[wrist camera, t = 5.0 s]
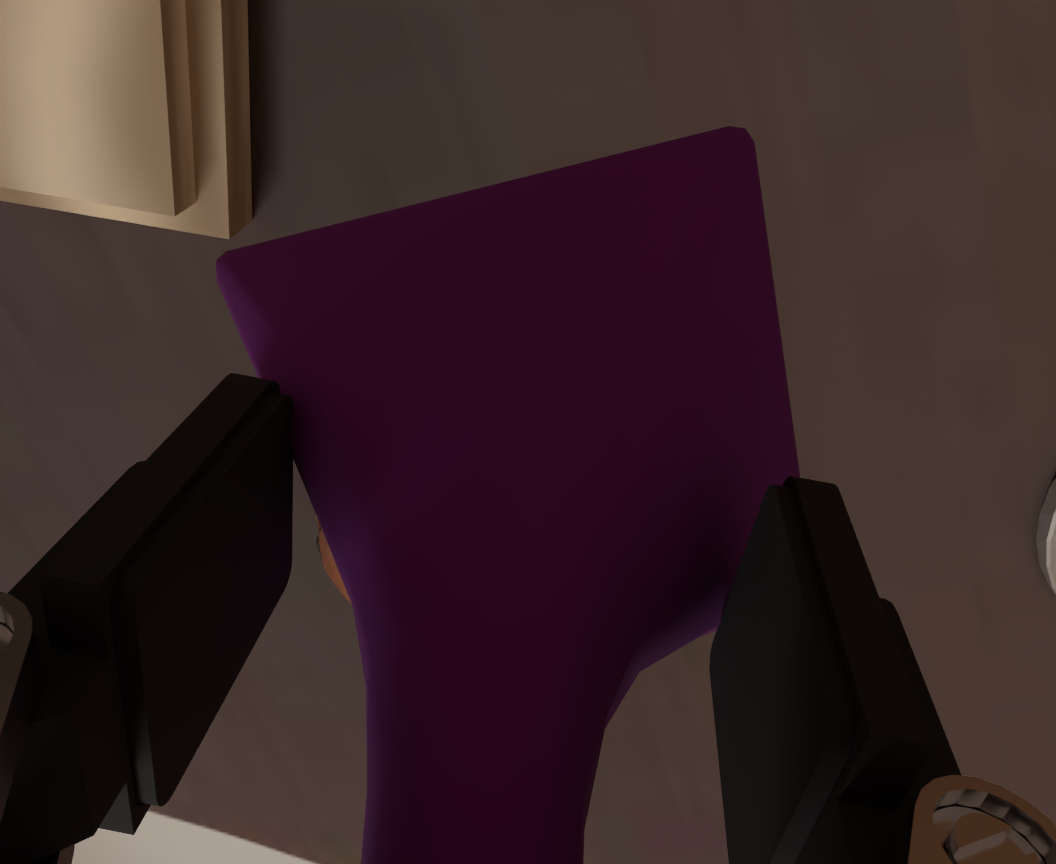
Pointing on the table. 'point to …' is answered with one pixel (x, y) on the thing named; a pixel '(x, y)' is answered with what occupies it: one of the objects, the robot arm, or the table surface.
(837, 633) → the robot arm
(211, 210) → the plinth
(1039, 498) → the table surface
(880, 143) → the table surface
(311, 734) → the table surface
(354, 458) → the perfume bottle
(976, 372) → the table surface
